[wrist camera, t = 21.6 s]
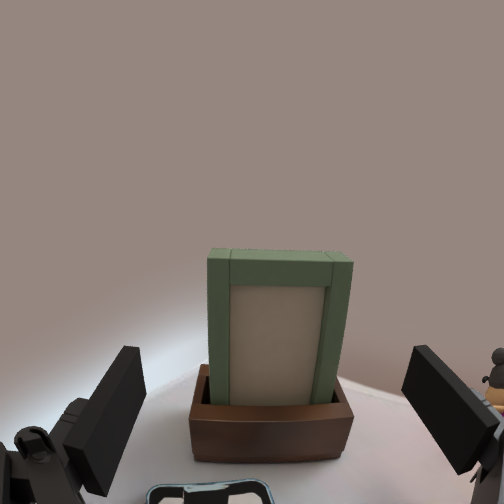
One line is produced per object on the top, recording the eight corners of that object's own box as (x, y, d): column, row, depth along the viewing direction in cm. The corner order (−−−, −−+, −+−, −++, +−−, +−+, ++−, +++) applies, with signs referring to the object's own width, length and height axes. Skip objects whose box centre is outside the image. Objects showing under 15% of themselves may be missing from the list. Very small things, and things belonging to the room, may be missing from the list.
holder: (193, 462, 18) (188, 418, 17) (203, 406, 24) (200, 363, 23) (340, 460, 18) (354, 416, 17) (323, 406, 24) (331, 364, 23)
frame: (212, 436, 20) (206, 257, 17) (214, 414, 22) (211, 247, 19) (323, 434, 20) (354, 261, 17) (317, 413, 22) (341, 251, 19)
